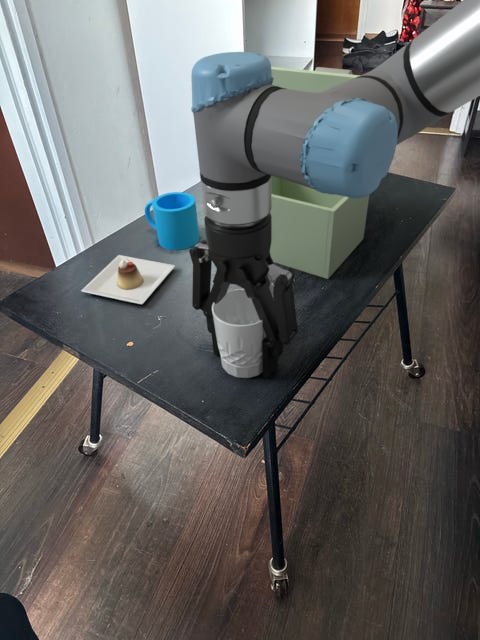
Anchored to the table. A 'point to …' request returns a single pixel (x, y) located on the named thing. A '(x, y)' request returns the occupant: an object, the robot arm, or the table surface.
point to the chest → (314, 227)
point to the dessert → (129, 279)
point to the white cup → (239, 334)
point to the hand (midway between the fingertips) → (245, 360)
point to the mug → (174, 220)
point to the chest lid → (310, 78)
